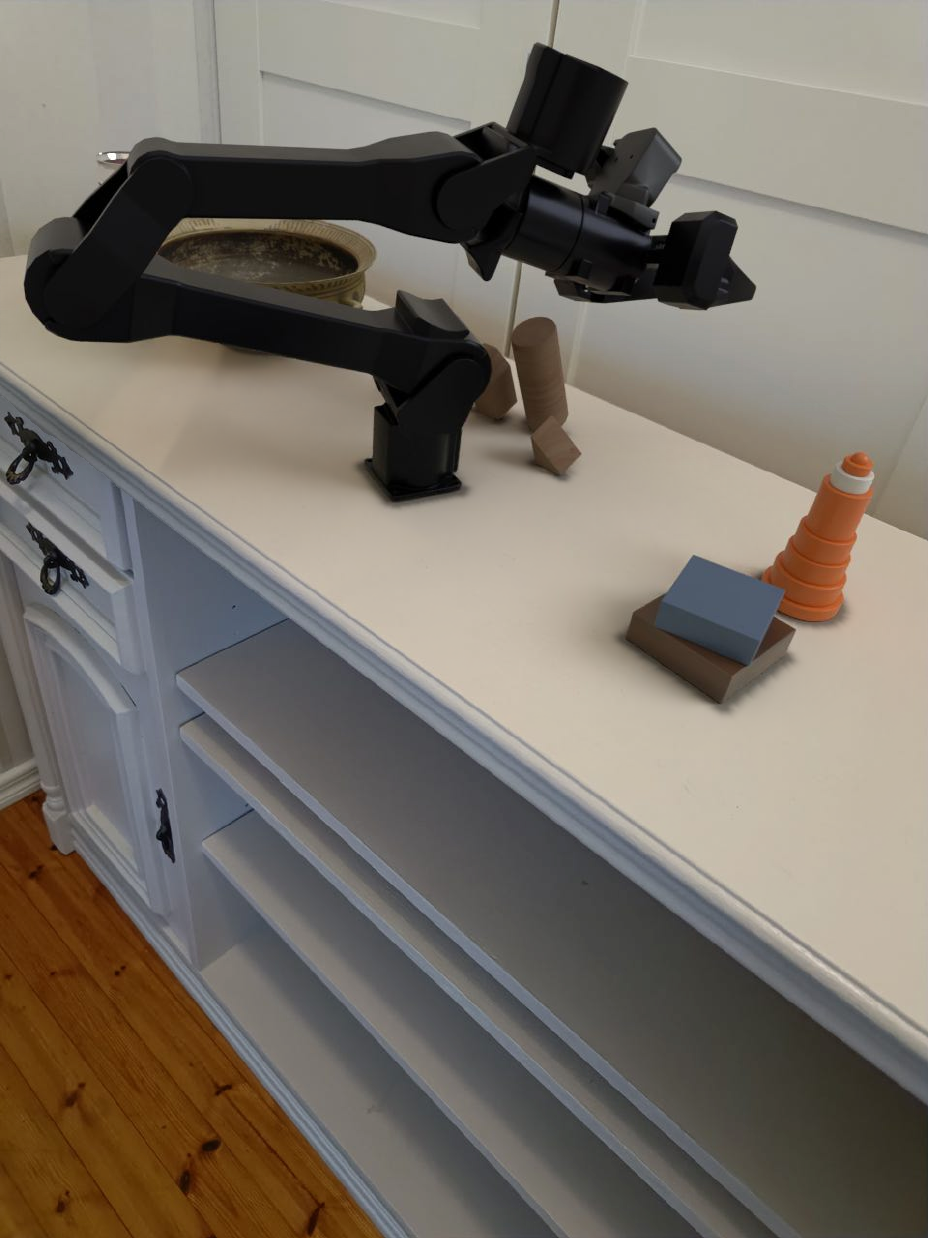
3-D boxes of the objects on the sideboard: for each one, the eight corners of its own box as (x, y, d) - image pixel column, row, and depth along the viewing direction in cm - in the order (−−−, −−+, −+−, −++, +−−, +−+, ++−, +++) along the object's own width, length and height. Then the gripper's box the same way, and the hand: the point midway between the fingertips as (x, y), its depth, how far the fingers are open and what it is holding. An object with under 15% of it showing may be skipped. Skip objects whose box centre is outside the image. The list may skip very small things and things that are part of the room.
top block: (749, 667, 54) (760, 641, 53) (652, 626, 56) (661, 600, 55) (775, 614, 59) (785, 589, 57) (685, 579, 61) (693, 553, 60)
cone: (798, 629, 62) (866, 482, 54) (742, 581, 66) (798, 438, 58) (855, 611, 64) (928, 467, 56) (798, 566, 68) (859, 426, 60)
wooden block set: (422, 421, 86) (394, 337, 78) (477, 369, 88) (456, 283, 80) (563, 489, 77) (549, 402, 68) (620, 429, 79) (613, 339, 71)
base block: (720, 704, 55) (731, 677, 53) (625, 638, 59) (632, 611, 57) (785, 655, 59) (797, 629, 58) (691, 597, 63) (700, 571, 62)
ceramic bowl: (437, 364, 91) (445, 268, 85) (243, 418, 78) (236, 309, 71) (278, 277, 107) (275, 191, 101) (93, 310, 93) (76, 212, 87)
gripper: (673, 91, 53) (838, 178, 61) (528, 130, 69) (674, 195, 76) (619, 276, 56) (783, 337, 63) (493, 273, 72) (636, 322, 79)
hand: (714, 291), depth 70 cm, fingers open, 9 cm apart
